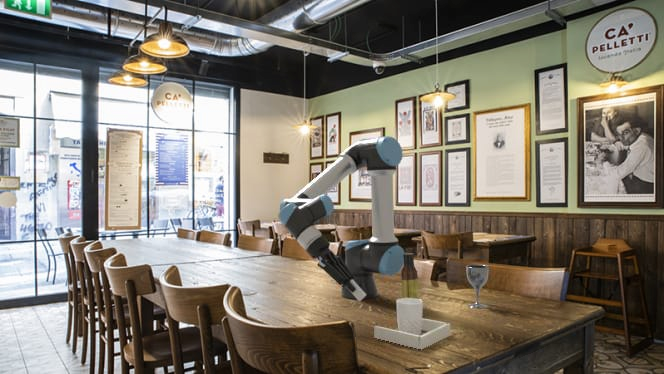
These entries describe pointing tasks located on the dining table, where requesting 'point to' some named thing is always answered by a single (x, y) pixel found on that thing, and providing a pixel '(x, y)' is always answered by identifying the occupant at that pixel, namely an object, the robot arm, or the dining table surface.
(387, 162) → the robot arm
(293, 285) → the dining table surface
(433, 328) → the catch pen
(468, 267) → the wine glass
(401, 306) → the white cup
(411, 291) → the sauce bottle
